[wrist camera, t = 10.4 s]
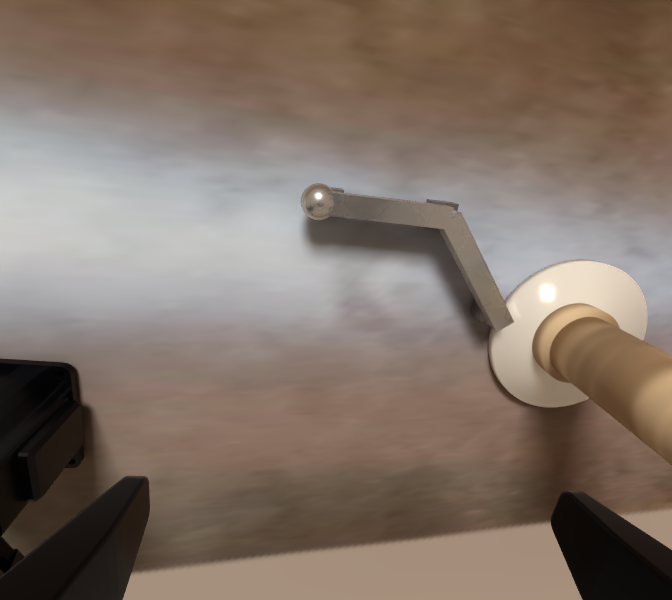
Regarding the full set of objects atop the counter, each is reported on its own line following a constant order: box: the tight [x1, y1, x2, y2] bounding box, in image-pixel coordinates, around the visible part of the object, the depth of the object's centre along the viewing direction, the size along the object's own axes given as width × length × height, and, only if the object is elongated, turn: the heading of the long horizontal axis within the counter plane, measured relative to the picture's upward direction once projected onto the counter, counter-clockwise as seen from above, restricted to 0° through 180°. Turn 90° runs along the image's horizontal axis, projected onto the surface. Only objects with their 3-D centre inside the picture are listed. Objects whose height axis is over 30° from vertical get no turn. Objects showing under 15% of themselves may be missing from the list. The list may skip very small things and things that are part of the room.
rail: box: [301, 183, 514, 332], centre depth 19 cm, size 11×6×2 cm, turn 83°
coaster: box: [488, 259, 648, 407], centre depth 22 cm, size 9×9×1 cm
